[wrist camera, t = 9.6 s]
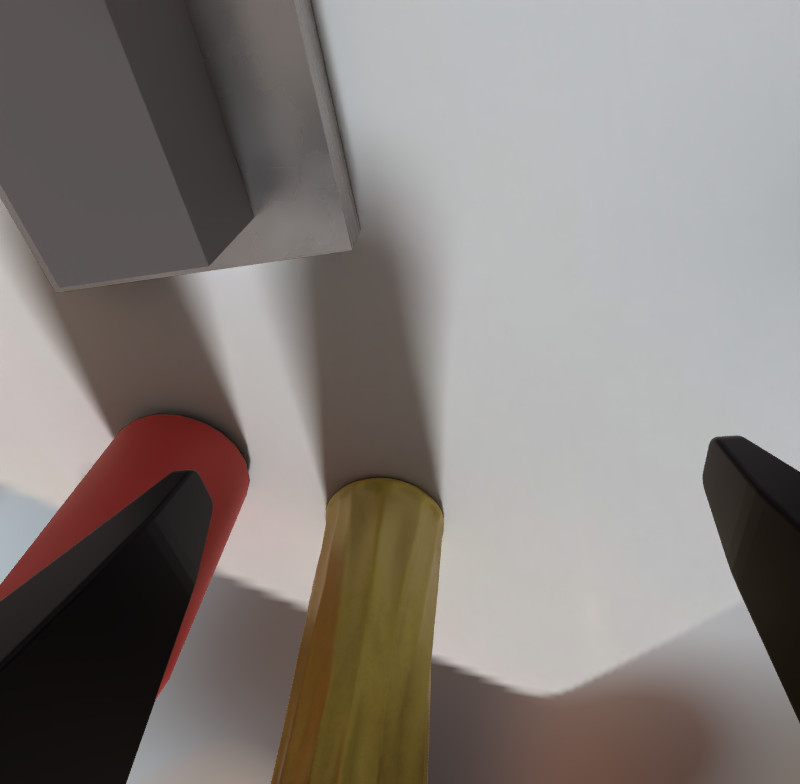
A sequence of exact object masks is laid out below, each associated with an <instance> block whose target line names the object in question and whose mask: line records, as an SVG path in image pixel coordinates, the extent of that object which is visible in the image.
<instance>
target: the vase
mask: <svg viewBox="0 0 800 784" xmlns="http://www.w3.org/2000/svg"><path fill="white" fill-rule="evenodd" d="M443 530H444V519H443V514H442V512H441V509H440V508H439V506H438V505H437V503H436V502H435V501H434V500H433V499H432V498H431V497H430V496H429V495H427V494H426V493H425V492H423V491H422V490H421V489H419V488H418V487H416V486H414V485H412V484H409V483H407V482H403V481H400V480H396V479H390V478H369V479H363V480H359V481H356V482H353V483H350V484H348V485H346V486H345V487H343V488H341V489H340V490H339V491H338V492H336V493H335V494H334V495H333V497H332V498H331V499H330V501H329V503H328V505H327V509H326V527H325V533H324V538H323V544H322V549H321V553H320V557H319V561H318V565H317V569H316V574H315V578H314V582H313V587H312V593H311V597H310V601H309V606H308V612H307V617H306V623H305V627H304V632H303V636H302V641H301V645H300V650H299V654H298V659H297V664H296V669H295V674H294V679H293V684H292V689H291V694H290V699H289V704H288V709H287V714H286V718H285V723H284V728H283V732H282V737H281V741H280V746H279V750H278V755H277V759H276V764H275V768H274V772H273V777H272V781H271V784H427V772H428V749H429V748H428V747H429V714H430V689H431V688H430V687H431V686H430V685H431V657H432V647H433V635H434V623H435V613H436V603H437V593H438V581H439V567H440V556H441V543H442V536H443Z"/></svg>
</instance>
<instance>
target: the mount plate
mask: <svg viewBox="0 0 800 784" xmlns="http://www.w3.org/2000/svg"><path fill="white" fill-rule="evenodd" d="M184 2H185V5H186V8H187V11H188V14H189V17H190V20H191V24H192V27H193V30H194V33H195V36H196V39H197V42H198V45H199V48H200V51H201V54H202V57H203V60H204V64H205V67H206V70H207V73H208V76H209V79H210V82H211V85H212V88H213V91H214V94H215V97H216V100H217V103H218V107H219V110H220V113H221V116H222V119H223V122H224V125H225V128H226V131H227V134H228V137H229V140H230V143H231V146H232V150H233V153H234V156H235V159H236V162H237V165H238V168H239V171H240V174H241V177H242V180H243V183H244V186H245V190H246V193H247V196H248V199H249V202H250V205H251V208H252V211H253V214H254V217H255V218H254V219H253V220H252V221H251V222H250V223H249V224H248V225H247V226H246V227H245V228H244V229H243V230H242V231H241V233H240V234H239V235H238V236H237V237H236V238H235V239H234V240H233V241H232V242H231V243H230V244H229V245H228V246H227V248H226V249H225V250H224V251H223V252H222V253H221V254H220V255H219V256H218V257H217V258H216V259H215V260H214V261H213V263H212V264H211V265H210V266H208V267H201V268H194V269H187V270H180V271H173V272H166V273H160V274H153V275H146V276H139V277H132V278H125V279H118V280H111V281H104V282H97V283H90V284H83V285H76V286H69V287H62V288H59V286H58V284H57V283H56V281H55V279H54V277H53V276H52V274H51V272H50V271H49V269H48V267H47V265H46V264H45V262H44V260H43V258H42V257H41V255H40V253H39V251H38V250H37V248H36V246H35V244H34V243H33V241H32V239H31V237H30V236H29V234H28V232H27V230H26V229H25V227H24V225H23V223H22V222H21V220H20V218H19V216H18V215H17V213H16V211H15V209H14V208H13V206H12V204H11V202H10V201H9V199H8V197H7V195H6V194H5V192H4V190H3V188H2V187H1V185H0V198H1V199H2V201H3V203H4V205H5V206H6V208H7V210H8V211H9V213H10V215H11V217H12V218H13V220H14V222H15V223H16V225H17V227H18V229H19V230H20V232H21V234H22V235H23V237H24V239H25V241H26V242H27V244H28V246H29V247H30V249H31V251H32V253H33V254H34V256H35V258H36V260H37V261H38V263H39V265H40V266H41V268H42V270H43V272H44V273H45V275H46V277H47V278H48V280H49V282H50V284H51V285H52V287H53V289H54V290H55V292H56V293H58V292H65V291H72V290H79V289H86V288H93V287H100V286H107V285H114V284H121V283H128V282H135V281H141V280H148V279H155V278H162V277H169V276H176V275H183V274H190V273H197V272H204V271H211V270H218V269H225V268H232V267H239V266H246V265H253V264H260V263H267V262H274V261H281V260H288V259H295V258H302V257H309V256H315V255H322V254H329V253H336V252H343V251H350V250H352V249H353V246H354V244H355V241H356V239H357V237H358V234H359V232H360V226H359V221H358V217H357V212H356V208H355V203H354V199H353V194H352V189H351V185H350V180H349V176H348V171H347V167H346V162H345V157H344V153H343V148H342V144H341V139H340V134H339V130H338V125H337V121H336V116H335V112H334V107H333V102H332V98H331V93H330V89H329V84H328V80H327V75H326V70H325V66H324V61H323V57H322V52H321V48H320V43H319V38H318V34H317V29H316V25H315V20H314V15H313V11H312V6H311V2H310V0H184Z"/></svg>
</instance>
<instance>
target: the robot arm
mask: <svg viewBox="0 0 800 784" xmlns="http://www.w3.org/2000/svg"><path fill="white" fill-rule="evenodd" d="M703 485H704V490H705V493H706V496H707V499H708V502H709V505H710V508H711V512H712V515H713V518H714V521H715V524H716V527H717V530H718V533H719V537H720V540H721V543H722V546H723V549H724V552H725V555H726V558H727V561H728V564H729V567H730V570H731V573H732V575H733V578H734V580H735V582H736V585H737V587H738V589H739V591H740V594H741V596H742V598H743V600H744V602H745V604H746V606H747V609H748V611H749V613H750V615H751V618H752V620H753V622H754V624H755V626H756V628H757V631H758V633H759V635H760V637H761V639H762V641H763V644H764V646H765V648H766V650H767V653H768V655H769V657H770V659H771V661H772V663H773V666H774V668H775V670H776V672H777V674H778V677H779V679H780V681H781V683H782V685H783V687H784V689H785V692H786V694H787V696H788V698H789V701H790V703H791V705H792V707H793V709H794V712H795V714H796V716H797V718H798V720H799V722H800V472H799V471H798V470H796V469H794V468H793V467H791V466H789V465H788V464H786V463H785V462H783V461H781V460H780V459H778V458H777V457H775V456H773V455H772V454H770V453H768V452H767V451H765V450H764V449H762V448H760V447H759V446H757V445H755V444H754V443H752V442H751V441H749V440H747V439H746V438H744V437H741V436H722V437H715V438H713V439H712V440H711V441H710V444H709V448H708V452H707V457H706V462H705V466H704V471H703ZM212 514H213V502H212V498H211V496H210V494H209V492H208V490H207V488H206V486H205V484H204V482H203V481H202V479H201V477H200V475H199V473H198V472H197V471H195V470H192V469H190V470H177V471H173V472H171V473H170V474H168V475H167V476H166V477H164V478H163V479H162V480H160V481H159V482H158V483H156V484H155V485H154V486H152V487H151V488H150V489H148V490H147V491H146V492H144V493H143V494H142V495H140V496H139V497H138V498H137V499H135V500H134V501H133V502H131V503H130V504H129V505H127V506H126V507H125V508H123V509H122V510H121V511H119V512H118V513H117V514H115V515H114V516H113V517H111V518H110V519H109V520H107V521H106V522H105V523H103V524H102V525H101V526H99V527H98V528H97V529H95V530H94V531H93V532H91V533H90V534H89V535H87V536H86V537H85V538H83V539H82V540H81V541H79V542H78V543H77V544H75V545H74V546H73V547H71V548H70V549H69V550H67V551H66V552H65V553H63V554H62V555H61V556H59V557H58V558H57V559H55V560H54V561H53V562H51V563H50V564H49V565H47V566H46V567H45V568H43V569H42V570H41V571H39V572H38V573H37V574H35V575H34V576H33V577H32V578H30V579H29V580H28V581H26V582H25V583H24V584H22V585H21V586H20V587H18V588H17V589H16V590H14V591H13V592H12V593H10V594H9V595H8V596H6V597H5V598H4V599H2V600H1V601H0V784H126V782H127V779H128V776H129V774H130V771H131V768H132V765H133V762H134V759H135V756H136V753H137V751H138V748H139V745H140V742H141V739H142V736H143V734H144V731H145V728H146V725H147V722H148V719H149V716H150V714H151V711H152V708H153V705H154V702H155V699H156V697H157V694H158V691H159V688H160V685H161V682H162V679H163V677H164V674H165V671H166V668H167V665H168V662H169V659H170V657H171V654H172V651H173V648H174V645H175V642H176V639H177V637H178V634H179V631H180V628H181V625H182V622H183V620H184V617H185V614H186V611H187V608H188V605H189V602H190V600H191V597H192V593H193V590H194V587H195V584H196V580H197V577H198V573H199V569H200V564H201V560H202V556H203V552H204V547H205V543H206V539H207V535H208V531H209V526H210V522H211V518H212Z"/></svg>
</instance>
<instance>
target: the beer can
mask: <svg viewBox="0 0 800 784" xmlns="http://www.w3.org/2000/svg"><path fill="white" fill-rule="evenodd" d="M190 469H192V470H195V471H197V472H198V473H199V475H200V477H201V479H202V481H203V482H204V484H205V486H206V488H207V490H208V492H209V494H210V496H211V498H212V502H213V514H212V518H211V522H210V526H209V531H208V535H207V539H206V543H205V547H204V552H203V556H202V560H201V564H200V569H199V573H198V577H197V580H196V584H195V587H194V590H193V593H192V597H191V600H190V602H189V605H188V608H187V611H186V614H185V617H184V620H183V622H182V625H181V628H180V631H179V634H178V637H177V639H176V642H175V645H174V648H173V651H172V654H171V657H170V659H169V662H168V665H167V668H166V671H165V674H164V677H163V679H162V682H161V685H160V688H159V691H158V694H159V693H160V692H161V690H162V689H163V687H164V686H165V684H166V683H167V681H168V680H169V678H170V675H171V673H172V671H173V669H174V666H175V664H176V661H177V659H178V657H179V654H180V652H181V649H182V647H183V645H184V643H185V640H186V638H187V635H188V633H189V631H190V628H191V626H192V623H193V621H194V619H195V616H196V614H197V611H198V609H199V607H200V604H201V602H202V600H203V597H204V595H205V592H206V590H207V588H208V585H209V583H210V580H211V578H212V576H213V573H214V571H215V569H216V566H217V564H218V561H219V559H220V557H221V554H222V552H223V550H224V547H225V545H226V542H227V540H228V538H229V535H230V533H231V530H232V528H233V526H234V523H235V521H236V519H237V516H238V514H239V511H240V509H241V507H242V504H243V502H244V499H245V497H246V495H247V491H248V486H249V482H250V479H249V474H248V469H247V464H246V461H245V460H244V458H243V457H242V455H241V453H240V452H239V450H238V449H237V447H236V446H235V445H234V444H233V443H232V442H231V441H230V440H229V439H228V438H227V437H226V436H225V435H223V434H222V433H221V432H220V431H218V430H216V429H214V428H213V427H211V426H209V425H207V424H205V423H204V422H202V421H198V420H195V419H192V418H188V417H185V416H182V415H165V414H156V415H152V416H147V417H143V418H139V419H136V420H135V421H133V422H132V423H130V424H129V425H127V426H126V427H124V428H123V429H121V431H120V432H119V433H118V435H117V436H116V437H115V438H114V440H113V441H112V442H111V444H110V445H109V446H108V447H107V449H106V450H105V451H104V453H103V454H102V455H101V456H100V458H99V459H98V460H97V461H96V463H95V464H94V465H93V467H92V468H91V469H90V470H89V472H88V473H87V474H86V476H85V477H84V478H83V479H82V481H81V482H80V483H79V485H78V486H77V487H76V488H75V490H74V491H73V492H72V494H71V495H70V496H69V497H68V499H67V500H66V501H65V503H64V504H63V505H62V506H61V508H60V509H59V510H58V511H57V513H56V514H55V515H54V517H53V518H52V519H51V521H50V522H49V523H48V524H47V526H46V527H45V528H44V529H43V531H42V532H41V533H40V535H39V536H38V537H37V539H36V540H35V541H34V543H33V544H32V545H31V546H30V547H29V549H28V550H27V551H26V553H25V554H24V555H23V556H22V558H21V559H20V560H19V561H18V563H17V564H16V565H15V567H14V568H13V569H12V570H11V572H10V573H9V574H8V576H7V577H6V578H5V579H4V581H3V582H2V583H1V585H0V601H1V600H2V599H4V598H5V597H6V596H8V595H9V594H10V593H12V592H13V591H14V590H16V589H17V588H18V587H20V586H21V585H22V584H24V583H25V582H26V581H28V580H29V579H30V578H32V577H33V576H34V575H35V574H37V573H38V572H39V571H41V570H42V569H43V568H45V567H46V566H47V565H49V564H50V563H51V562H53V561H54V560H55V559H57V558H58V557H59V556H61V555H62V554H63V553H65V552H66V551H67V550H69V549H70V548H71V547H73V546H74V545H75V544H77V543H78V542H79V541H81V540H82V539H83V538H85V537H86V536H87V535H89V534H90V533H91V532H93V531H94V530H95V529H97V528H98V527H99V526H101V525H102V524H103V523H105V522H106V521H107V520H109V519H110V518H111V517H113V516H114V515H115V514H117V513H118V512H119V511H121V510H122V509H123V508H125V507H126V506H127V505H129V504H130V503H131V502H133V501H134V500H135V499H137V498H138V497H139V496H140V495H142V494H143V493H144V492H146V491H147V490H148V489H150V488H151V487H152V486H154V485H155V484H156V483H158V482H159V481H160V480H162V479H163V478H164V477H166V476H167V475H168V474H170V473H171V472H173V471H177V470H190ZM158 694H157V696H158ZM156 698H157V697H156Z"/></svg>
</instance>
